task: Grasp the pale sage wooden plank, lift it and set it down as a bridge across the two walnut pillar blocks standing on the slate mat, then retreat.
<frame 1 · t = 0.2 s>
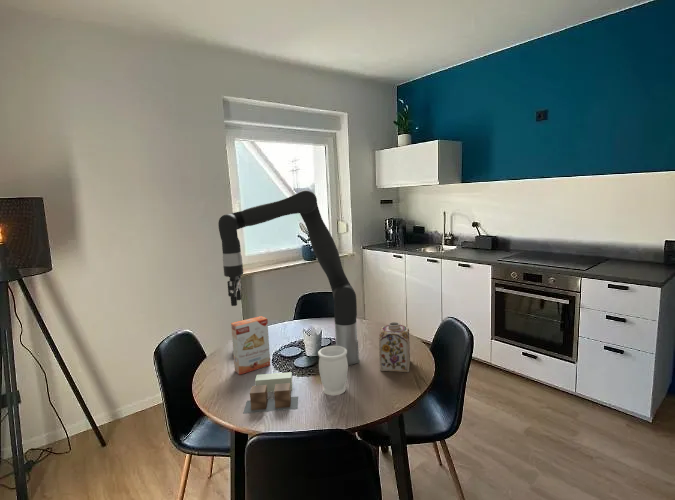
hand: (236, 302, 154), 29 cm above the table, fingers open, 8 cm apart
cracker box: (253, 368, 158), on the table
pillar a: (283, 403, 129), resting on mat
pillar b: (259, 405, 128), resting on mat
mat: (271, 405, 128), on the table
jar: (334, 390, 137), on the table
plank: (274, 390, 139), on the table
decorative jar: (395, 366, 154), on the table
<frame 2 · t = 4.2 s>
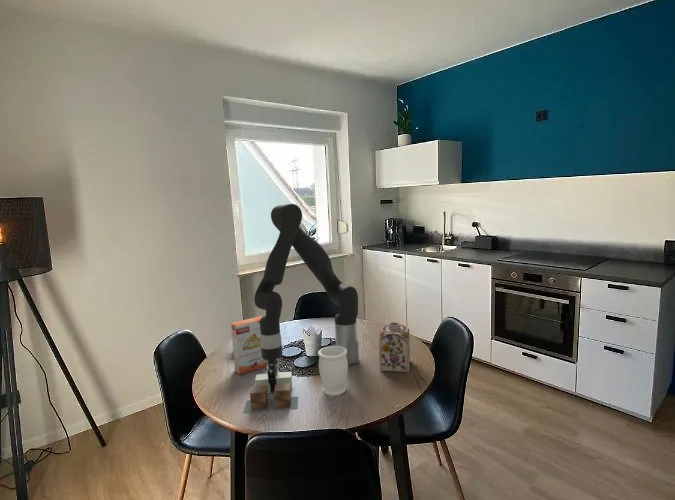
hand: (274, 388, 139), 1 cm above the table, fingers closed on plank, 4 cm apart
plank: (274, 389, 139), on the table, touching gripper
everything else where it was.
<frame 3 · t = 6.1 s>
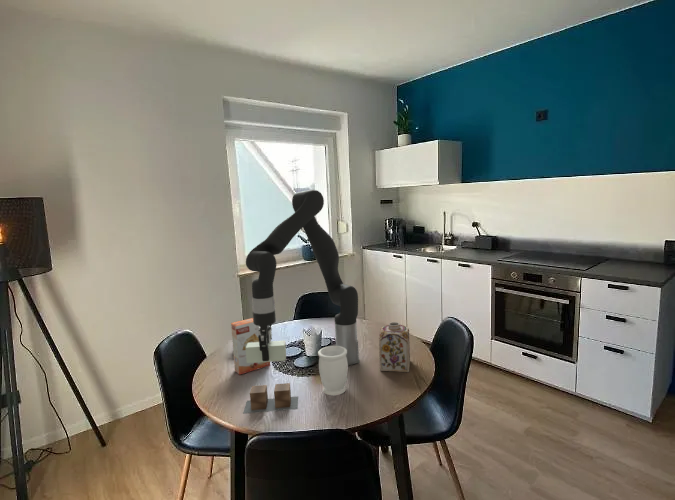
hand: (266, 357, 130), 16 cm above the table, fingers closed on plank, 4 cm apart
plank: (266, 359, 130), point 15 cm above the table, touching gripper
everything else where it was.
when the fingers open (8 cm above the table, at t = 8.1 s): plank stays where it is, resting on pillar a, pillar b.
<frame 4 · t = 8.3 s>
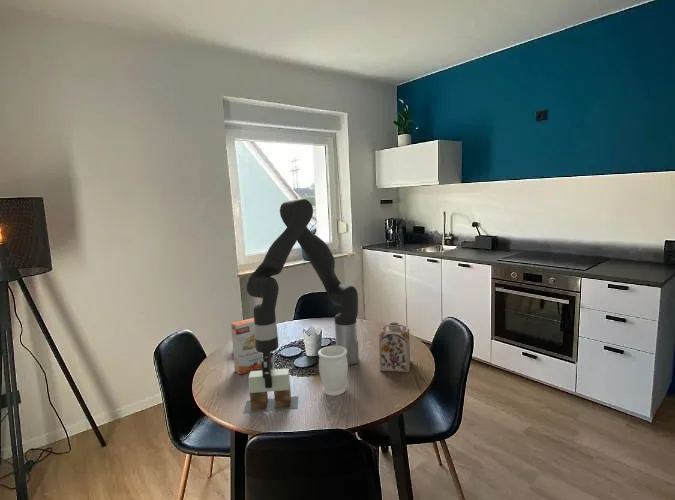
hand: (269, 382, 127), 8 cm above the table, fingers open, 6 cm apart
pillar a: (283, 403, 129), resting on mat, touching plank
pillar b: (259, 405, 128), resting on mat, touching plank
plank: (270, 388, 128), point 6 cm above the table, touching pillar a, pillar b
everything else where it was.
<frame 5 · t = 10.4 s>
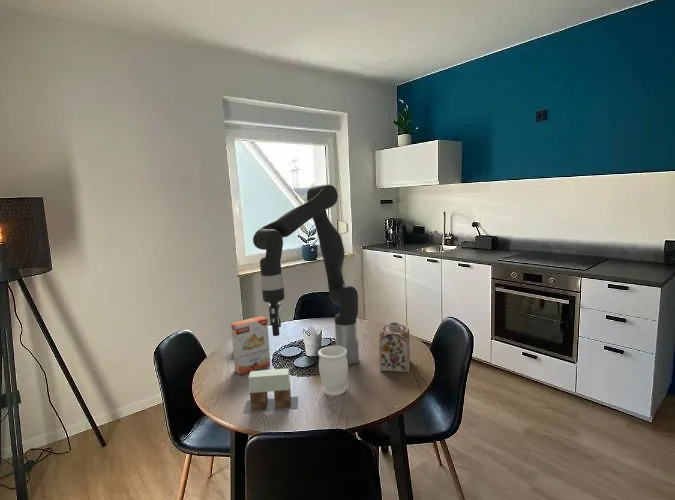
hand: (277, 331, 133), 24 cm above the table, fingers open, 8 cm apart
nothing on the table moved.
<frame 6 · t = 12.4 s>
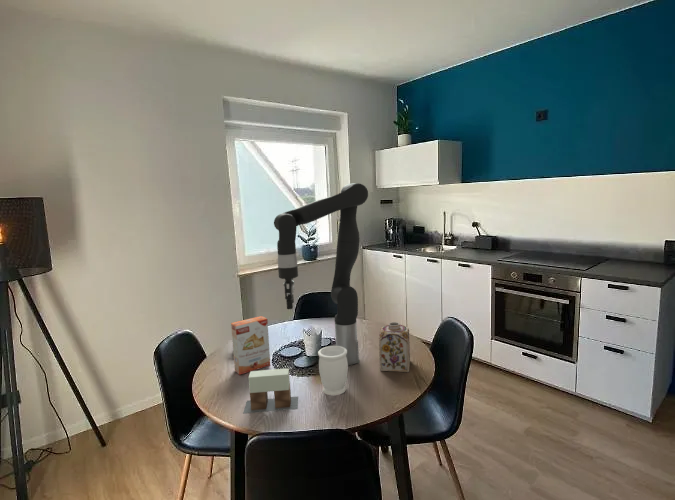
hand: (290, 305, 148), 28 cm above the table, fingers open, 8 cm apart
nothing on the table moved.
at the end: plank inside the target area (0.0 cm from its centre), point 6.4 cm above the table; plank tilted 0°; the gripper is holding nothing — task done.
